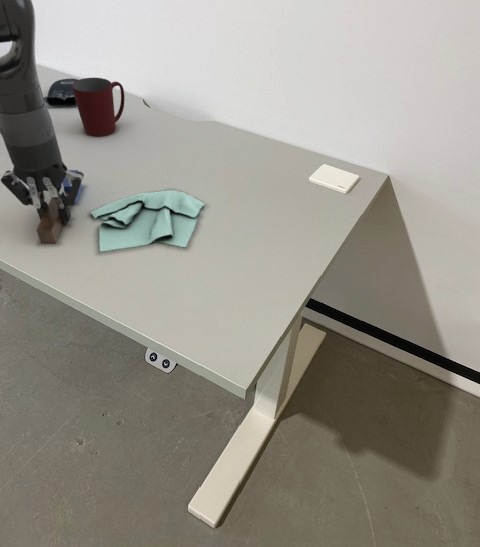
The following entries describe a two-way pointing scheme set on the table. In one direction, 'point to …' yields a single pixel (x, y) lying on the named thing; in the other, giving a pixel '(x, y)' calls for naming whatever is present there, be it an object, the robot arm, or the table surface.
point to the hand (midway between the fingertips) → (56, 221)
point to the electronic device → (61, 94)
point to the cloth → (148, 220)
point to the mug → (97, 105)
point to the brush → (53, 218)
